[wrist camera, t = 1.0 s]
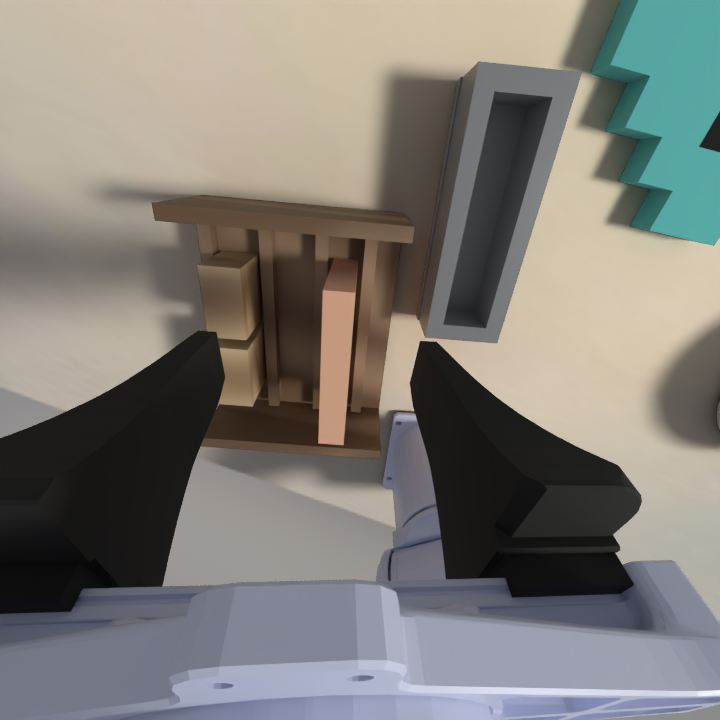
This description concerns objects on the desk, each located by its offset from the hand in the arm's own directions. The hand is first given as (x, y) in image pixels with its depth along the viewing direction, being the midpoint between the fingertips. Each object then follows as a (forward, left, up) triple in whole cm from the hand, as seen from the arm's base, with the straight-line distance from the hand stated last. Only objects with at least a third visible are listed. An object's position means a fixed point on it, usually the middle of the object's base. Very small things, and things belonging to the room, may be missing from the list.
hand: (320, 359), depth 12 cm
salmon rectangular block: (-4, 0, -12) cm, 13 cm away
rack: (-4, +3, -13) cm, 14 cm away
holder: (+4, -8, -13) cm, 16 cm away
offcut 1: (-2, +7, -12) cm, 14 cm away
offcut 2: (-7, +7, -12) cm, 16 cm away
